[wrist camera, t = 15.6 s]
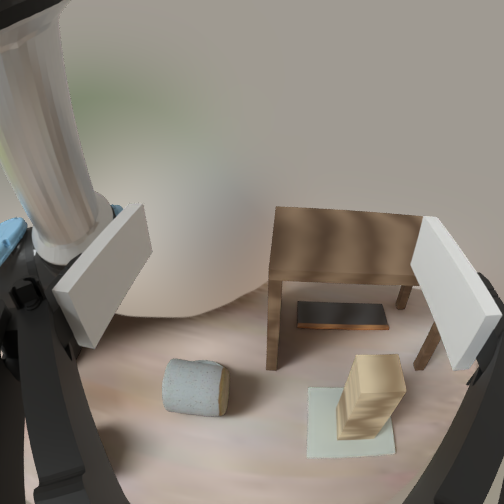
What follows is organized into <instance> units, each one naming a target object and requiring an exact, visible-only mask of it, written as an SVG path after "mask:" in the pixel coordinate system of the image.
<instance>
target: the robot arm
mask: <svg viewBox="0 0 504 504" xmlns="http://www.w3.org/2000/svg"><path fill="white" fill-rule="evenodd" d="M70 1H71V0H0V164H1V166H2V168H3V171H4V173H5V174H6V176H7V178H8V180H9V182H10V184H11V186H12V188H13V190H14V192H15V194H16V195H17V197H18V199H19V201H20V203H21V205H22V206H23V208H24V210H25V212H26V213H27V215H28V217H29V218H30V220H31V222H32V224H33V227H30V228H27V223H26V222H25V220H24V219H23V218H12V219H9V220H6V221H4V222H2V223H1V224H0V353H1V351H2V352H3V356H2V358H1V354H0V504H26V503H25V488H24V425H25V418H26V424H27V430H28V435H29V440H30V445H31V450H32V454H33V458H34V462H35V466H36V470H37V474H38V478H39V486H38V487H37V488H35V489H34V493H33V496H34V501H35V504H130V503H129V501H128V500H127V498H126V497H125V495H124V493H123V491H122V489H121V487H120V484H119V482H118V480H117V478H116V476H115V473H114V471H113V469H112V467H111V464H110V462H109V460H108V457H107V455H106V452H105V450H104V447H103V445H102V442H101V440H100V437H99V434H98V432H97V429H96V426H95V423H94V420H93V417H92V415H91V412H90V409H89V406H88V402H87V399H86V396H85V393H84V389H83V386H82V383H81V379H80V375H79V372H78V368H77V364H76V360H75V359H76V358H77V356H78V355H79V353H80V350H81V347H82V346H83V347H88V348H92V349H95V348H96V346H97V344H98V342H99V340H100V339H101V337H102V335H103V333H104V331H105V330H106V328H107V326H108V324H109V323H110V321H111V319H112V317H113V316H114V314H115V312H116V310H117V309H118V307H119V305H120V304H121V302H122V300H123V299H124V297H125V295H126V294H127V292H128V290H129V289H130V287H131V285H132V284H133V282H134V281H135V279H136V277H137V276H138V274H139V273H140V271H141V269H142V268H143V266H144V265H145V263H146V261H147V260H148V258H149V257H150V255H151V254H152V247H151V242H150V237H149V232H148V227H147V221H146V216H145V211H144V205H143V203H130V204H128V205H127V206H126V207H125V208H124V209H123V208H122V207H121V206H120V205H110V204H109V202H108V200H107V199H106V198H105V197H104V196H103V195H101V194H100V193H98V192H96V191H94V190H93V186H92V183H91V180H90V176H89V173H88V169H87V165H86V162H85V158H84V154H83V151H82V147H81V143H80V139H79V135H78V130H77V126H76V122H75V117H74V113H73V108H72V104H71V98H70V93H69V88H68V83H67V77H66V72H65V65H64V58H63V52H62V44H61V37H60V28H59V16H60V14H61V13H62V11H63V10H64V9H65V8H66V6H67V5H68V4H69V3H70ZM410 265H411V267H412V270H413V272H414V274H415V276H416V278H417V281H418V283H419V285H420V287H421V290H422V292H423V294H424V296H425V299H426V301H427V303H428V306H429V308H430V311H431V313H432V316H433V318H434V321H435V323H436V326H437V328H438V331H439V333H440V336H441V339H442V341H443V344H444V347H445V350H446V352H447V355H448V358H449V361H450V364H451V367H452V370H453V371H457V370H466V369H469V368H470V367H471V365H472V364H473V362H474V361H475V359H477V361H478V364H479V367H478V369H477V370H476V372H475V373H474V374H473V376H472V377H471V378H470V380H469V381H468V382H467V384H466V385H469V384H470V386H469V388H468V390H467V392H466V395H465V397H464V399H463V401H462V403H461V406H460V408H459V410H458V412H457V414H456V416H455V418H454V420H453V422H452V424H451V426H450V428H449V430H448V432H447V434H446V435H445V437H444V439H443V441H442V443H441V444H440V446H439V448H438V450H437V451H436V453H435V455H434V457H433V458H432V460H431V462H430V463H429V465H428V466H427V468H426V470H425V471H424V473H423V475H422V476H421V478H420V479H419V481H418V482H417V484H416V485H415V486H414V488H413V489H412V491H411V492H410V494H409V495H408V497H407V498H406V499H405V501H404V502H403V504H483V502H484V500H485V498H486V496H487V494H488V492H489V490H490V488H491V486H492V483H493V481H494V479H495V476H496V474H497V472H498V469H499V467H500V464H501V462H502V459H503V456H504V304H503V302H502V301H501V299H500V298H499V297H498V294H497V293H496V291H495V290H494V288H493V286H492V285H491V283H490V282H489V280H488V279H487V278H486V277H484V276H483V275H482V274H481V273H477V272H476V271H475V269H474V268H473V266H472V265H471V263H470V262H469V260H468V259H467V257H466V256H465V255H464V253H463V252H462V250H461V249H460V247H459V246H458V244H457V243H456V242H455V240H454V239H453V238H452V236H451V235H450V233H449V232H448V231H447V230H446V228H445V227H444V225H443V224H442V223H441V222H440V220H439V219H438V218H437V217H430V216H423V220H422V224H421V228H420V232H419V236H418V239H417V243H416V247H415V250H414V254H413V257H412V261H411V264H410ZM498 504H504V480H503V484H502V489H501V493H500V498H499V502H498Z"/></svg>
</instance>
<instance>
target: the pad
mask: <svg viewBox="0 0 504 504" xmlns="http://www.w3.org/2000/svg"><path fill="white" fill-rule="evenodd" d="M343 389H344V388H320V387H308V427H307V458H354V457H370V456H382V455H392V454H395V444H394V436H393V429H392V421H391V416H390V417H389V419H388V420H387V422H386V423H385V424H384V426H383V427H382V429H381V430H380V431H379V433H378V434H377V435H376V437H375V438H374V439H361V440H337V423H336V407H337V404H338V402H339V399H340V397H341V394H342V392H343Z"/></svg>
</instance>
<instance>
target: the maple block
mask: <svg viewBox="0 0 504 504" xmlns="http://www.w3.org/2000/svg"><path fill="white" fill-rule="evenodd" d="M406 391H407V390H406V385H405V381H404V376H403V372H402V368H401V363H400V359H399V355H398V354H389V355H356V356H355V359H354V362H353V365H352V368H351V370H350V373H349V376H348V379H347V381H346V384H345V387H344V389H343V392H342V394H341V397H340V399H339V402H338V404H337V407H336V423H337V440H361V439H374V438H375V437H376V435H377V434H378V433H379V431H380V430H381V429H382V427H383V426H384V424H385V423H386V422H387V420H388V419H389V417H390V416H391V414H392V413H393V411H394V410H395V408H396V407H397V405H398V404H399V402H400V401H401V399H402V398H403V396H404V395H405V393H406Z"/></svg>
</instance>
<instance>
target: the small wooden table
mask: <svg viewBox="0 0 504 504" xmlns="http://www.w3.org/2000/svg"><path fill="white" fill-rule="evenodd" d="M422 220H423V216H412V215H401V214H390V213H377V212H363V211H350V210H333V209H316V208H298V207H276V210H275V220H274V228H273V237H272V246H271V255H270V263H269V282H268V324H267V358H266V370H274V371H276V368H277V355H278V342H279V328H280V313H281V298H282V281H299V282H321V283H345V284H372V285H402V286H401V289H400V292H399V295H398V298H397V301H396V306H397V309H405V306H406V303H407V301H408V298H409V295H410V292H411V289H412V286H420V285H419V283H418V281H417V278H416V276H415V274H414V272H413V270H412V267H411V265H410V264H411V261H412V257H413V254H414V250H415V247H416V243H417V239H418V236H419V232H420V228H421V224H422ZM298 328H311V329H345V330H389V326H388V324H387V320H386V316H385V313H384V309H383V305H382V304H359V303H328V302H304V301H298ZM440 339H441V336H440V333H439V331H438V328H437V326H436V323H435V321H434V323H433V325H432V327H431V330H430V332H429V334H428V336H427V338H426V340H425V342H424V344H423V346H422V348H421V350H420V352H419V354H418V355H417V357H416V359H415V361H414V363H413V364H414V368H415V371H418V370H424V368H425V366H426V365H427V363H428V361H429V359H430V358H431V356H432V354H433V352H434V351H435V349H436V347H437V345H438V343H439V341H440Z"/></svg>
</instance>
